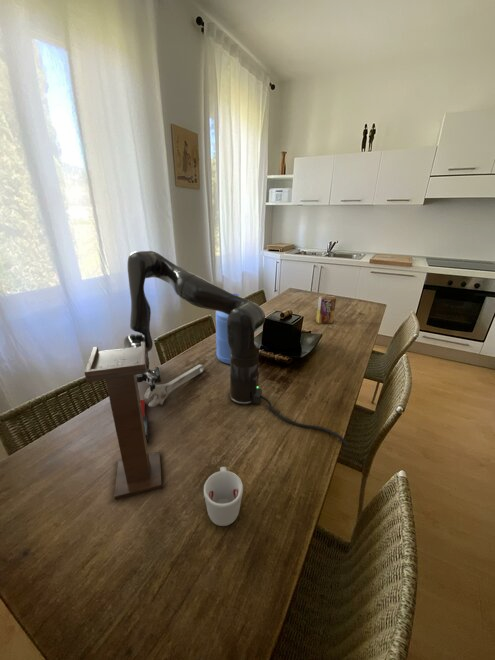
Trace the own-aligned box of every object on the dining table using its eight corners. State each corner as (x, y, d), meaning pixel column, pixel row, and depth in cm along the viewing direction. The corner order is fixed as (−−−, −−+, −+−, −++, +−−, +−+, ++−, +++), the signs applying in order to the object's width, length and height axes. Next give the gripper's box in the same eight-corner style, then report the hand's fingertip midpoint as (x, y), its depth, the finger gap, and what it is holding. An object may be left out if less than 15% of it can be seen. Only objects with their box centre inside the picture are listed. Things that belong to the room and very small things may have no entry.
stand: (118, 463, 70) (93, 347, 57) (159, 454, 74) (145, 341, 60) (114, 499, 62) (84, 372, 49) (161, 487, 65) (145, 364, 52)
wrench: (204, 377, 113) (148, 414, 87) (200, 375, 113) (144, 412, 87) (204, 358, 110) (147, 391, 84) (200, 357, 111) (143, 389, 85)
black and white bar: (133, 405, 91) (132, 397, 90) (147, 402, 92) (146, 395, 91) (131, 446, 76) (129, 438, 74) (148, 443, 77) (146, 434, 76)
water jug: (209, 360, 119) (208, 297, 108) (226, 345, 132) (226, 287, 121) (243, 368, 114) (245, 303, 103) (257, 352, 127) (259, 292, 116)
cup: (206, 485, 66) (205, 460, 63) (240, 483, 66) (240, 458, 63) (203, 533, 56) (202, 507, 53) (243, 531, 57) (244, 504, 53)
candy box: (329, 320, 166) (333, 295, 160) (332, 323, 162) (336, 297, 156) (315, 320, 165) (318, 296, 159) (318, 323, 161) (321, 298, 155)
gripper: (112, 357, 92) (107, 384, 78) (158, 351, 96) (160, 376, 82) (116, 376, 95) (111, 406, 81) (160, 370, 99) (162, 397, 85)
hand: (136, 391), depth 82 cm, fingers open, 8 cm apart
